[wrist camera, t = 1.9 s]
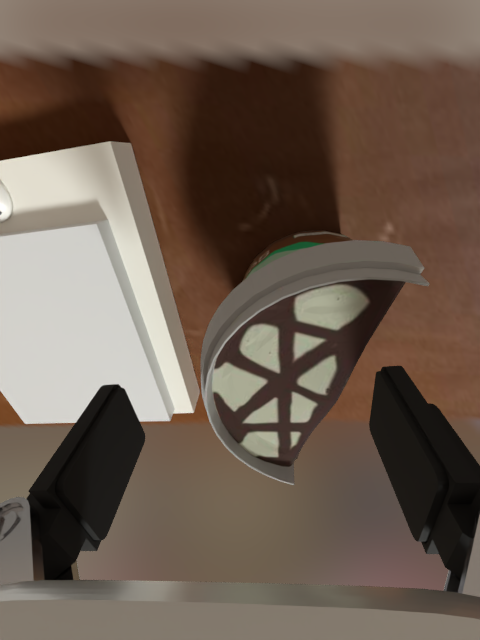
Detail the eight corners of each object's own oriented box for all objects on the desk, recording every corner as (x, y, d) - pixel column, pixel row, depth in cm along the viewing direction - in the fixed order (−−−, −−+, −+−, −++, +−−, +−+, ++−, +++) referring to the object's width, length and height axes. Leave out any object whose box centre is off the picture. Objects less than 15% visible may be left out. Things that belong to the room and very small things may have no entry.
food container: (251, 178, 16) (230, 204, 8) (352, 208, 17) (441, 267, 8) (208, 344, 22) (171, 462, 14) (282, 364, 23) (290, 490, 14)
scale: (131, 143, 16) (97, 140, 13) (199, 391, 25) (190, 424, 22) (-100, 183, 18) (-176, 189, 15) (41, 397, 27) (12, 427, 24)
